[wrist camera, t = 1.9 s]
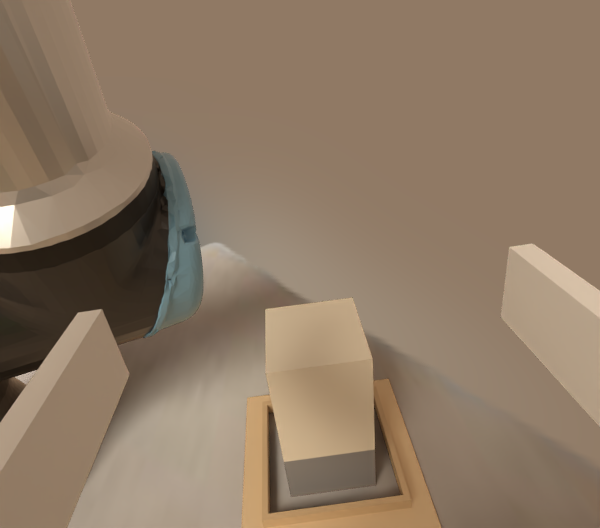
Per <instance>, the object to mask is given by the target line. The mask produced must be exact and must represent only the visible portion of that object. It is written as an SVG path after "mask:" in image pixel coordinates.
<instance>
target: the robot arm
mask: <svg viewBox="0 0 600 528" xmlns="http://www.w3.org/2000/svg"><path fill="white" fill-rule="evenodd" d="M195 232H196V225H195V216H194V210H193V206H192V202H191V198H190V194H189V191H188V187H187V184H186V181H185V178H184V175H183V172H182V170H181V168H180V166H179V163H178V162H177V160H176V159H175V158H174V157H173V156H172V155H171V154H169V153H164V152H163V153H160V152H155V151H151V147H150V144H149V142H148V139H147V138H146V136H145V135H144V134H143V132H142V131H141V130H140V129H139V128H138V127H137V126H136V125H134V124H133V123H131V122H130V121H129V120H127V119H125V118H123V117H121V116H118V115H116V114H114V113H112V112H110V111H108V108H107V105H106V103H105V99H104V97H103V94H102V91H101V88H100V85H99V82H98V79H97V77H96V74H95V71H94V68H93V65H92V62H91V59H90V56H89V53H88V50H87V48H86V44H85V42H84V39H83V36H82V33H81V30H80V27H79V24H78V21H77V18H76V16H75V13H74V10H73V7H72V4H71V1H70V0H0V528H67V526H68V524H69V522H70V519H71V517H72V514H73V512H74V509H75V507H76V504H77V502H78V500H79V497H80V495H81V492H82V490H83V487H84V485H85V483H86V480H87V478H88V475H89V473H90V470H91V468H92V465H93V463H94V461H95V458H96V456H97V453H98V451H99V448H100V446H101V444H102V441H103V439H104V436H105V434H106V431H107V429H108V426H109V424H110V422H111V419H112V417H113V414H114V412H115V409H116V407H117V404H118V402H119V400H120V397H121V395H122V392H123V390H124V387H125V385H126V383H127V380H128V378H129V375H130V374H129V372H128V369H127V367H126V365H125V362H124V360H123V358H122V355H121V353H120V350H119V348H118V346H117V345H119V344H122V343H126V342H129V341H132V340H136V339H139V338H142V337H143V338H147V337H150V336H153V335H154V334H156V333H157V332H158V331H159V330H161V329H164V328H167V327H169V326H172V325H175V324H177V323H180V322H183V321H185V320H187V319H189V318H190V317H191V316H192V315H194V314H195V312H196V311H197V310H198V308H199V306H200V304H201V301H202V296H203V266H202V256H201V250H200V244H199V240H198V237H197V235H196V233H195ZM501 318H502V319H503V320H504V322H505V323H506V324H507V325H508V326H509V327H510V328H511V329H512V330H513V332H514V333H515V334H516V335H517V336H518V337H519V338H520V339H521V340H522V341H523V343H525V345H526V346H527V347H528V348H529V349H530V350H531V351H532V353H533V354H534V355H535V356H536V357H537V358H538V359H539V360H540V361H541V363H542V364H543V365H544V366H545V367H546V368H547V369H548V370H549V371H550V373H551V374H552V375H553V376H554V377H555V378H556V379H557V380H558V381H559V383H560V384H561V385H562V386H563V387H564V388H565V389H566V390H567V391H568V392H569V393H570V395H571V396H572V397H573V398H574V399H575V400H576V401H577V402H578V404H579V405H580V406H581V407H582V408H583V409H584V410H585V411H586V412H587V413H588V415H589V416H590V417H591V418H592V419H593V420H594V421H595V422H596V423H597V425H598V426H599V427H600V291H599V290H598V289H596V288H595V287H594V286H592V285H591V284H589V283H588V282H586V281H585V280H584V279H582V278H581V277H579V276H578V275H577V274H575V273H574V272H572V271H571V270H569V269H568V268H567V267H565V266H564V265H562V264H561V263H560V262H558V261H557V260H555V259H554V258H552V257H551V256H550V255H548V254H547V253H545V252H544V251H543V250H541V249H539V248H538V247H537V246H535V245H534V244H527V245H520V246H513V247H509V254H508V262H507V270H506V278H505V286H504V294H503V302H502V310H501ZM37 369H38V370H37ZM34 370H37V371H36V373H35V374H34V375H33V377H32V378H31V380H30V381H29V382H28V384H27V385H26V384H24V383H23V382H21V381H20V380H18V379H16V378H15V376H18V375H22V374H25V373H28V372H31V371H34Z"/></svg>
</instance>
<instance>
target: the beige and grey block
mask: <svg viewBox="0 0 600 528" xmlns="http://www.w3.org/2000/svg"><path fill="white" fill-rule="evenodd" d="M265 358H266V378H267V383H268V387H269V392H270V397H271V402H272V407H273V412H274V416H275V421H276V426H277V431H278V436H279V441H280V445H281V450H282V455H283V460H284V465H285V470H286V474H287V479H288V484H289V489H290V494H291V497H295V496H303V495H310V494H317V493H324V492H331V491H339V490H346V489H353V488H360V487H367V486H375V485H376V472H375V431H374V390H373V358H372V355H371V352H370V349H369V346H368V343H367V340H366V337H365V334H364V331H363V328H362V325H361V322H360V319H359V316H358V312H357V309H356V306H355V303H354V300H353V298H345V299H337V300H330V301H322V302H315V303H307V304H300V305H292V306H285V307H277V308H270V309H265Z"/></svg>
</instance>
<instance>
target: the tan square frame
mask: <svg viewBox="0 0 600 528" xmlns="http://www.w3.org/2000/svg"><path fill="white" fill-rule="evenodd" d="M373 390H374V405H375V409H376V412H377V416H378V419H379V422H380V426H381V429H382V433H383V436H384V439H385V443H386V446H387V450H388V453H389V457H390V460H391V463H392V467H393V470H394V474H395V477H396V481H397V484H398V487H399V491H400V494H401V495H399V496H392V497H384V498H377V499H370V500H363V501H356V502H348V503H341V504H334V505H327V506H320V507H312V508H305V509H298V510H291V511H284V512H276V513H270V470H269V413H271V412H273V407H272V402H271V397H270V395H264V396H257V397H249V398H247V418H246V440H245V462H244V484H243V506H242V528H441V525H440V522H439V519H438V516H437V514H436V511H435V508H434V505H433V502H432V499H431V497H430V494H429V491H428V488H427V485H426V483H425V480H424V477H423V474H422V471H421V468H420V466H419V463H418V460H417V457H416V454H415V452H414V449H413V446H412V443H411V440H410V437H409V435H408V432H407V429H406V426H405V423H404V421H403V418H402V415H401V412H400V409H399V406H398V404H397V401H396V398H395V395H394V392H393V390H392V387H391V384H390V381H389V379H382V380H374V381H373Z"/></svg>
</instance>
